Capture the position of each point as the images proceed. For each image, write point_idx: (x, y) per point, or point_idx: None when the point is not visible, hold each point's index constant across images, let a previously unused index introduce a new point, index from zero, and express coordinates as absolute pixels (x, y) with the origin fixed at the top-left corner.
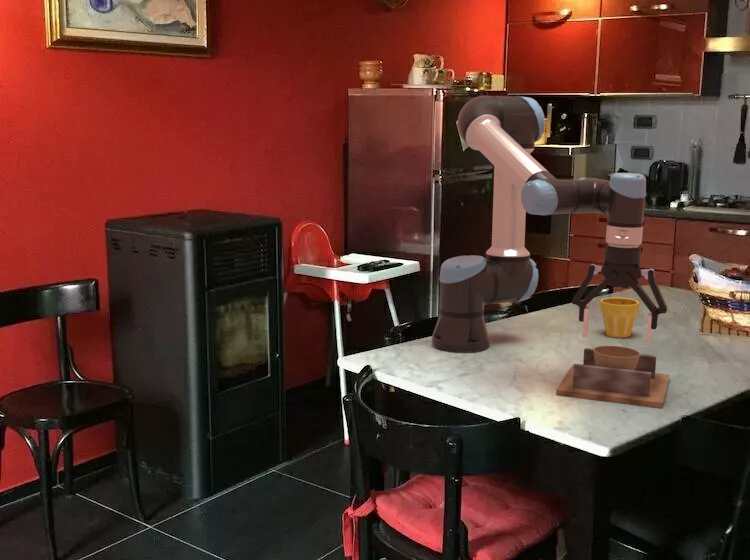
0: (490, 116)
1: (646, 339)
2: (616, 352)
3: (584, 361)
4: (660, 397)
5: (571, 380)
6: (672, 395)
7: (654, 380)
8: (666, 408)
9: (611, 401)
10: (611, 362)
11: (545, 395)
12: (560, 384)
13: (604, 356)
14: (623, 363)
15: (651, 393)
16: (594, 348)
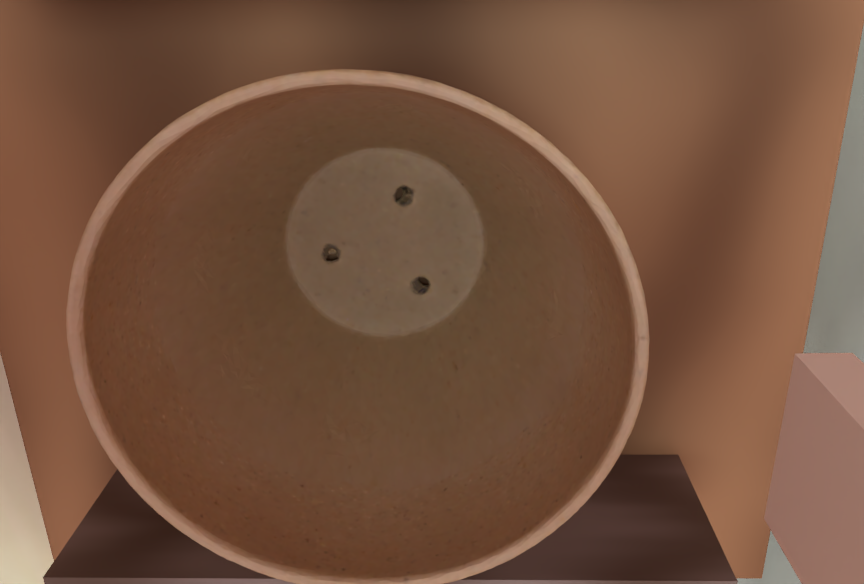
0: None
1: (800, 573)
2: (326, 87)
3: None
4: (753, 484)
5: (65, 342)
6: (849, 254)
7: (734, 41)
8: (772, 539)
9: None
10: (357, 540)
11: (20, 573)
12: (33, 463)
13: (270, 563)
14: (473, 517)
15: (692, 419)
16: (79, 364)
